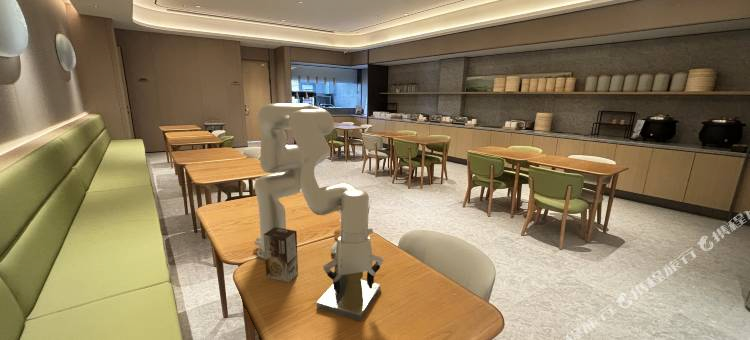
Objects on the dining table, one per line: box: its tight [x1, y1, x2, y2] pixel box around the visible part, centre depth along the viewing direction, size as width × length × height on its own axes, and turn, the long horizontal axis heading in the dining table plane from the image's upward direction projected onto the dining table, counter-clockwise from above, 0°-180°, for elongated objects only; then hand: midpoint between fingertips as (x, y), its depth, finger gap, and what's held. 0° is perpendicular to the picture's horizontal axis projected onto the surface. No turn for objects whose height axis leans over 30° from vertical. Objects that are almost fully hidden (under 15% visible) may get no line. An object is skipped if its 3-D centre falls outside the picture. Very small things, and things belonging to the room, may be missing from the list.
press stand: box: [316, 251, 382, 322], centre depth 97 cm, size 14×16×14 cm
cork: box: [343, 272, 364, 309], centre depth 92 cm, size 6×6×11 cm
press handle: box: [333, 227, 341, 243], centre depth 100 cm, size 7×7×13 cm
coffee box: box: [264, 227, 299, 283], centre depth 108 cm, size 9×6×16 cm
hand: (353, 288), depth 92 cm, fingers open, 9 cm apart
